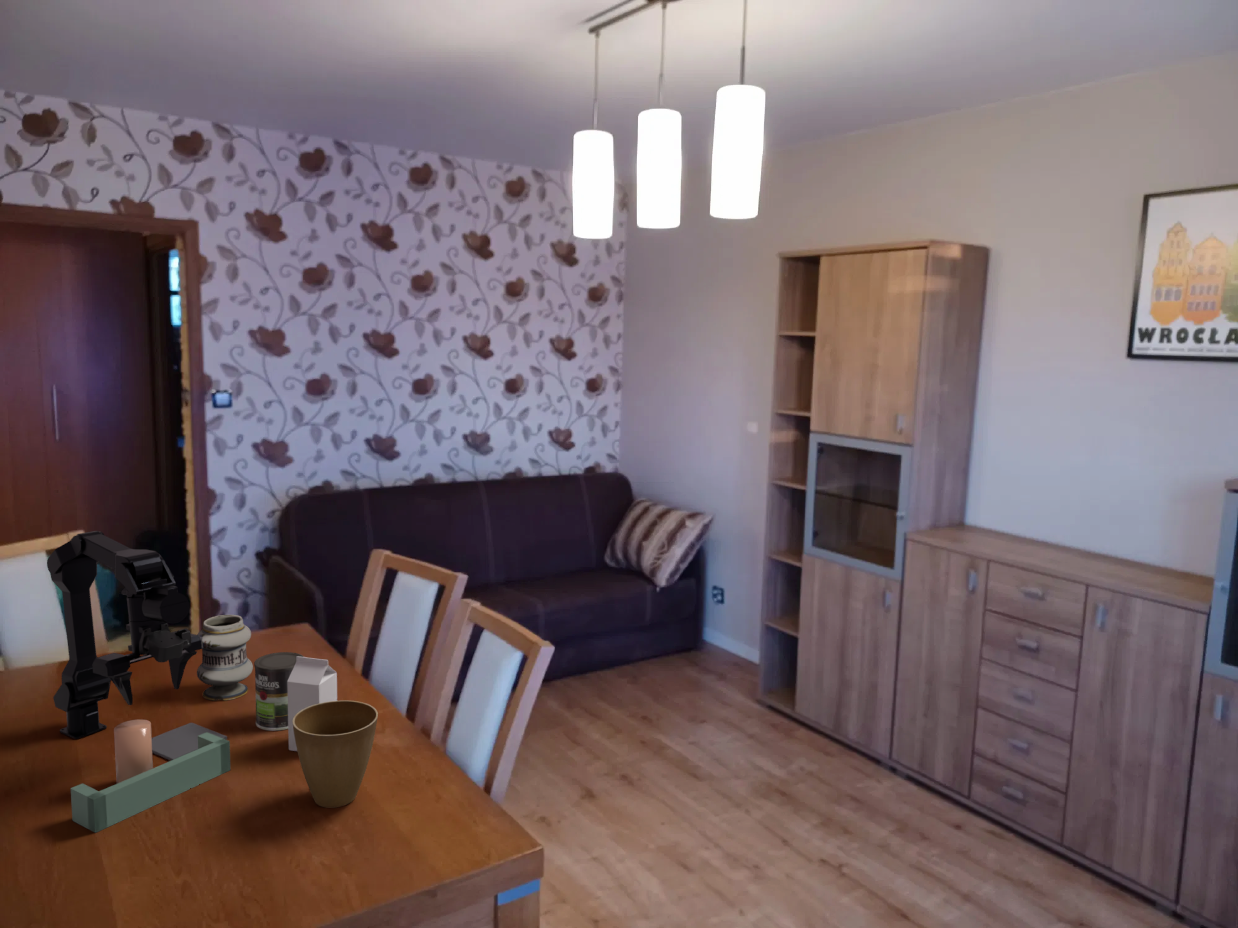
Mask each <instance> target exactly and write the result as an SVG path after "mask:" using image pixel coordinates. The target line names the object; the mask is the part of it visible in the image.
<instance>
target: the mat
mask: <svg viewBox="0 0 1238 928" xmlns="http://www.w3.org/2000/svg"><path fill="white" fill-rule="evenodd" d="M206 732H208V733H210V734H213V735H215V736H218V737H220V738H223V739H225V740H228V736H227V735H225V734H221V733H220V732H217V731H214V730H211V729H210V728H207V727H204V726H201V725H200V724H197V723H194V722H189V723H186V724H184V725H181V726H179V727H176V728H174V729H171V730H168V731H165V732H163V733H161V734H158V735H156V736H153V737H151V739H152V754H154V755H156V756H159V757H161V758H164V759H165V760H168V761H172V760H174V759H176V758H179V757H181V756H183V755H186V754H188V753H190V752H193V751H195V750H197V749H198V736H199V735H201V734H204V733H206Z"/></svg>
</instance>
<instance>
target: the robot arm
mask: <svg viewBox="0 0 1238 928" xmlns="http://www.w3.org/2000/svg"><path fill="white" fill-rule="evenodd" d="M99 563H100V564H102V565H104V566H106V567H108V568H109V569H112V570H113V571H114V578H116V580H117V581H119V582H120V583H121V585H123V587H124V588H123V589H122V590H121V592H120V593H121V595H124V596H126V604H127V613H128V622H129V623H128V624H125V630H126V631H129V633H130V642H131V644H129V645H127V649H128V651H129V652H131V653H128V654H125V655H124V654H122V653H117V652H112V653H109V654H105V655H100V656H98V655H97V648H96V638H95V628H94V619H93V609H92V607H93V606H92V599H91V587H92V585H93V583H94V582H95V579H96V577H98V576H97V575H98V565H99ZM46 567H47V570H48V571H49V574H50V579H51V581H52V582H53V584H54V585H56V587H57V588H58V589H59V590H60V591H61V595H62V603H63V611H64V612H63V614H64V621H65V630H66V640H67V650H68V661H67V663H66V665H65V667H64V669H62V670H63V671H62V672H61V685H60V687H59V688H58V689H57V691H56V692H55V694H54V695H53V698H52V699H53V702H54V706H55V708H57V709H59V710H61V711H64V712H65V713H66V714H65V715H66V727H63V728H61V729H59V732H60V733H61V734H63V735H65V736H68V737H69V738H72V739H74V740H79V739H81V738H83V737H86V736H89V735H92V734H95V733H98V732H100V731H103V730H105V729H107V727H108V726H107V725H106V724H103V723H101V722H100V714H99V713H100V712H99V702H101V701H104V700H107V699H108V698H109V694H110V687H111V683H112V684H114V686H115V688H117V690H118V692H119V694H120V695H121V697H122V698H123V700H124V701H125V703H126V704H127V705H129V706H132V705H133V702H134V701H133V691H132V683H131V676H132V674H133V671H130V670H129V669H130V667H131V664H135V663H138V662H141V661H145V660H149V659H152V658H153V659H155V661H156V662H157V663H167V662H168V665H169V671H170V676H171V683H172V686H173V689H175V690H179V689H180V686H181V682H182V680H183V676H184V673H185V669H186V666H187V664H188V661H189V660H190V659H192V657H194V656H195V655H197V653H198V650H199V651H200V650H202V648H203V643H202V639H201V637H200V636H199V635H197V634H195V633H191V630H189V629H188V628H187V627H185V628H183V629H178V630H175V631H172V632H171V631H170V628H169V624H170V625H171V624H174V625H175V624H178V623H180V622H182V621H183V620H184V619H186V617H187V616H188V614H189V612H190V605H191V604H190V601H189V600H188V598H187V596H186V595H184V594H183V593H180V592H179V590H178V586H176V583H177V582H176V581H175V579H174V578H175V575H174V574H173V572H172V571H171V570H170V568H169V567H168V565H167V564H166V561H165V559H164V557H162V555H161V553H159V552H157V551H156V550H149V549H134V548H131V547H128V546H126V545H124V544H122V543H121V542H119V541H116V540H114V539H113V538H110V537H109V536H106V535H105V533H104V532H102V531H99V530H94V531H88V532H82V533H77V534H76V535H73V536H72V538H71V539H69V541H67V542H66V543H64V544H62V545H60V546H59V547H57V548H56V549H54V550H53V551H52V553H51V554H50V555H49V556H48V558H47V560H46Z"/></svg>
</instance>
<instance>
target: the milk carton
mask: <svg viewBox="0 0 1238 928" xmlns="http://www.w3.org/2000/svg"><path fill="white" fill-rule="evenodd" d="M337 676H338V673H337V671H336V670H335V669H333V668H332V667H331V666H330V665H329V660H328V659H322V658H313V657H306V656H304V657H298V656H297V657H296V664H295V666H294V668H293V670H292V672H291V674H290V677H289V679H288V681H287V685H288V729H287V733H288V750H289V751H292V752H293V751H294V752H297V747H296V742H295V737H294V730H293V723H292V720H293V718H294V716H295V715H296V714H297V713H298V712H299V711H301V710H302V709H304V708H307V707H309V706H312V705H315V704H319V703H323V702H329V701H338V677H337Z"/></svg>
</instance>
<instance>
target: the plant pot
mask: <svg viewBox="0 0 1238 928" xmlns="http://www.w3.org/2000/svg"><path fill="white" fill-rule="evenodd" d="M378 715H379V713H378V710H377V709H376V708H375V706H373V705H371V704H369V703H366V702H362V701H357V700H347V699H346V700H337V701H329V702H323V703H319V704H315V705H312V706H309V707H307V708H304V709H302V710H301V711H299V712H298V713H297V714H296V715H295V716H294V718H293V720H292V723H293V730H294V737H295V742H296V747H297V751H296V752H297V756H298V758H299V759H298V760H299V763H300V767H301V770H302V772H303V776H304V779H305V781H306V784H307V787H308V789H309V792H310V793H311V796H312V798H313V801H314V803H315V804H316V805H318V806H320V807H323V808H331V809H332V808H334V809H335V808H340V807H344V806H346V805H348V804H350V803H352V802H353V801H354V800H355V799H356V797H357V794H358V792H359V790H360V787H361V784H362V782H363V779H364V776H365V774H366V770H367V766H368V763H369V760H370V756H371V752H372V749H373V746H374V744H373V743H374V740H375V735H376V730H377V722H378Z"/></svg>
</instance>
